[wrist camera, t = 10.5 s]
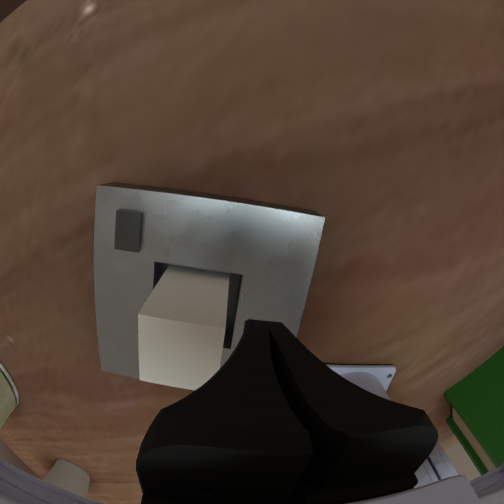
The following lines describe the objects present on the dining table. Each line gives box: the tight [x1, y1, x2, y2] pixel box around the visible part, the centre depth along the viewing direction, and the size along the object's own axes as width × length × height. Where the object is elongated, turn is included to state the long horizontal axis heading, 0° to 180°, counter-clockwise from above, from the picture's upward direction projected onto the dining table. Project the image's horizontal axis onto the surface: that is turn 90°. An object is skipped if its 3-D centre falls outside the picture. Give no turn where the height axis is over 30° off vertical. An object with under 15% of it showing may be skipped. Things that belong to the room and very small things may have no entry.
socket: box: [94, 182, 325, 379], centre depth 20 cm, size 14×14×3 cm
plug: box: [138, 264, 230, 390], centre depth 17 cm, size 4×4×8 cm
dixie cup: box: [43, 460, 90, 498], centre depth 24 cm, size 8×8×10 cm
